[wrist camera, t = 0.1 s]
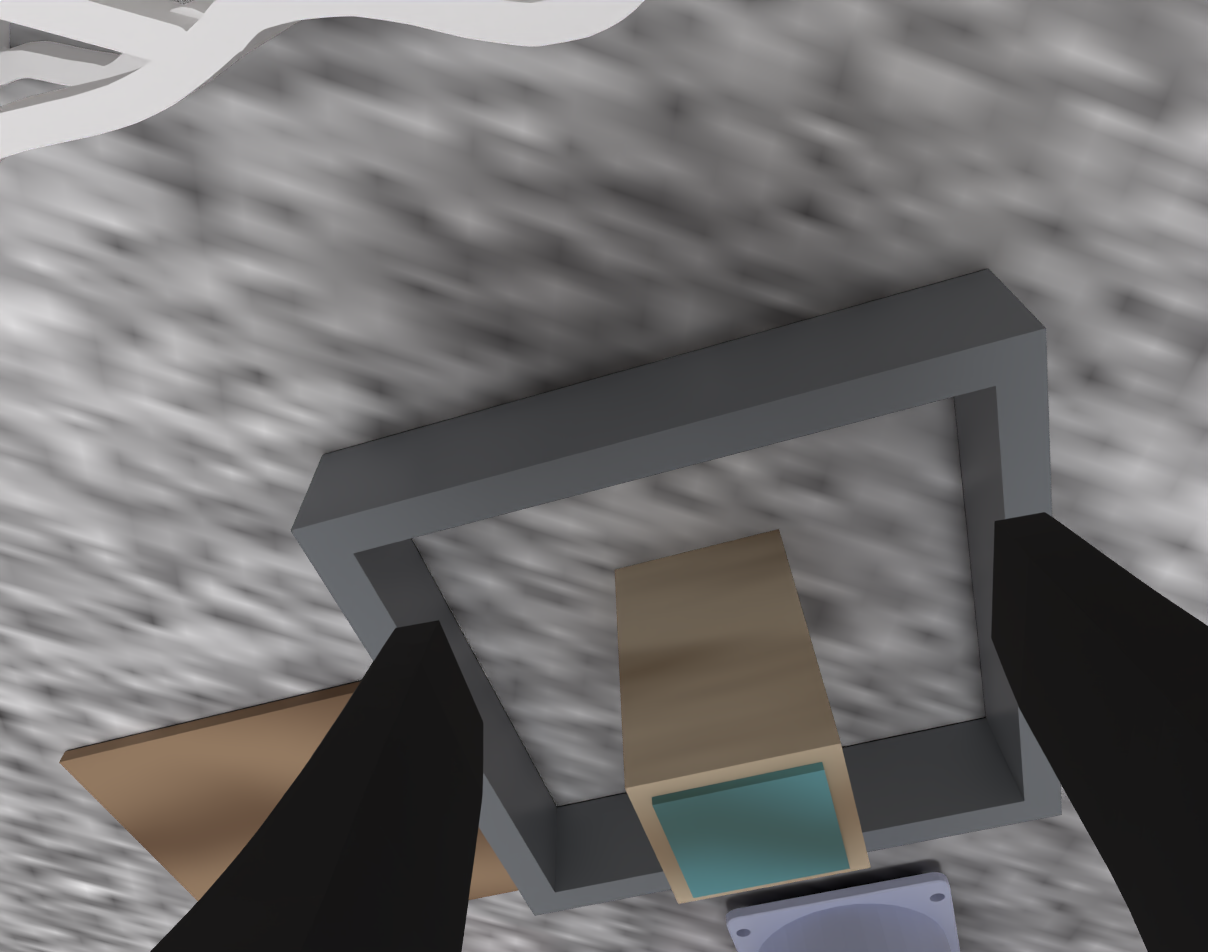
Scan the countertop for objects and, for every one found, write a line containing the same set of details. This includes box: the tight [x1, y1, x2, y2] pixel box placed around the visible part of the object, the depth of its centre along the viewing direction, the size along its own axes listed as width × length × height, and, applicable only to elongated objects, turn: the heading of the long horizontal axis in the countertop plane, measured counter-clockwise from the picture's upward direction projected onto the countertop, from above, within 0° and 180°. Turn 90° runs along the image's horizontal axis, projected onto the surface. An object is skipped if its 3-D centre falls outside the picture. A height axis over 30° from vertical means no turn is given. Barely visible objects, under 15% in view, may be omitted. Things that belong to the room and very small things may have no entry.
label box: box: [615, 529, 871, 904], centre depth 23 cm, size 4×4×7 cm
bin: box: [291, 269, 1062, 916], centre depth 24 cm, size 16×16×3 cm
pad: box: [59, 681, 518, 901], centre depth 30 cm, size 11×11×1 cm
